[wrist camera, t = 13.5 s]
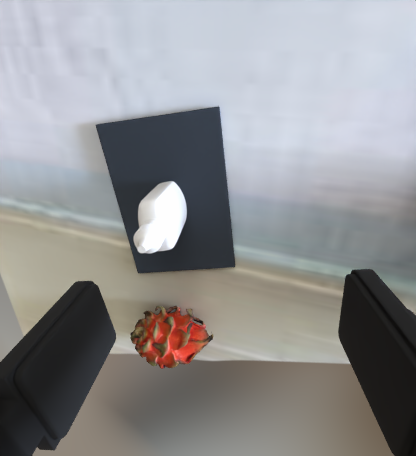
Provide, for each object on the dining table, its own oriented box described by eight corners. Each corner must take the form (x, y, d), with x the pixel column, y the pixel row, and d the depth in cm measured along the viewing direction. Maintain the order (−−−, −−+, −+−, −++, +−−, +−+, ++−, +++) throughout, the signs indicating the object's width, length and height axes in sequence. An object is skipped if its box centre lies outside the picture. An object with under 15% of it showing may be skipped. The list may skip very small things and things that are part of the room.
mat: (98, 124, 28) (95, 124, 28) (219, 106, 27) (219, 106, 26) (139, 271, 36) (138, 273, 36) (235, 264, 34) (235, 267, 34)
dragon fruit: (137, 301, 41) (209, 303, 42) (133, 357, 39) (208, 357, 40) (126, 308, 32) (216, 309, 34) (119, 379, 31) (215, 378, 32)
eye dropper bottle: (151, 217, 32) (111, 269, 21) (160, 176, 30) (119, 210, 19) (184, 227, 32) (161, 283, 21) (195, 186, 30) (175, 226, 19)
